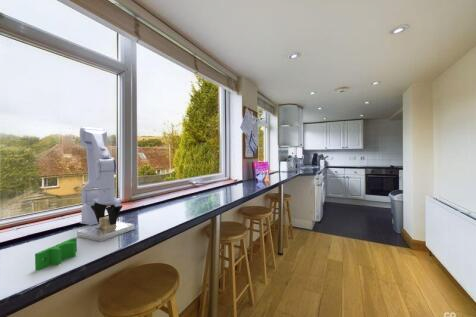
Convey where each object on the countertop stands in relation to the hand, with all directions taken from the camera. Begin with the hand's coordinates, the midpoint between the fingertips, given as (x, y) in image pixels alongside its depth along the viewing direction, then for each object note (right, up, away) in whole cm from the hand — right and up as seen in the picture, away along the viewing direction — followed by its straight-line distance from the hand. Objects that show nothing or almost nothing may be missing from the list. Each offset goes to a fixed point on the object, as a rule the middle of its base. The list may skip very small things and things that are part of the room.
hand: (106, 222), depth 82 cm
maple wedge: (0, -4, 0) cm, 4 cm away
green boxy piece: (+1, -4, -22) cm, 23 cm away
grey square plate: (0, -4, 0) cm, 4 cm away
